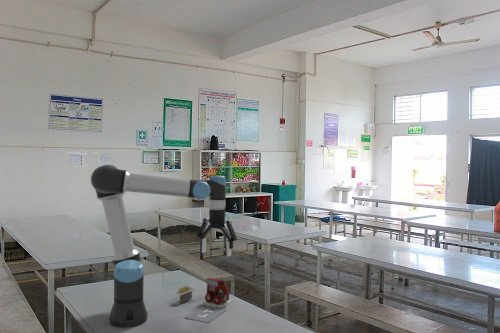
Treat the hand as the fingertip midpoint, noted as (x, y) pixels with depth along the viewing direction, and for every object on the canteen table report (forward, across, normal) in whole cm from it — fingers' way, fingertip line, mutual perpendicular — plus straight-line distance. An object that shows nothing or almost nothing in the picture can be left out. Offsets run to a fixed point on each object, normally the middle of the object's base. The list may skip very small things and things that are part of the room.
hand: (216, 254), depth 190 cm
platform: (+23, +14, +5) cm, 28 cm away
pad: (+22, -2, 0) cm, 23 cm away
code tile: (+23, -4, +15) cm, 27 cm away
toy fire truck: (+22, -1, 0) cm, 22 cm away
